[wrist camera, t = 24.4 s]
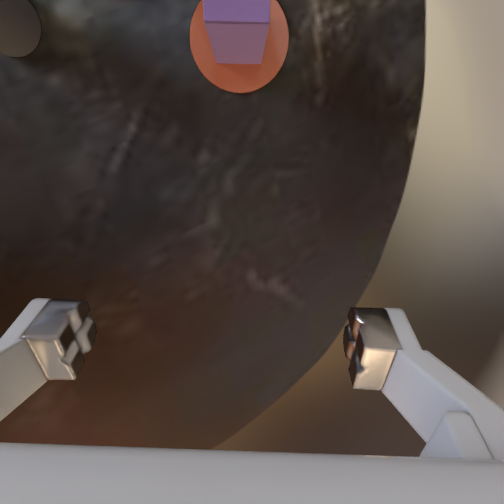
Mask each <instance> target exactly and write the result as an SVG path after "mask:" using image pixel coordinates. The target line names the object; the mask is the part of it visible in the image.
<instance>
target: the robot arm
mask: <svg viewBox="0 0 504 504" xmlns="http://www.w3.org/2000/svg"><path fill="white" fill-rule="evenodd" d="M89 311H90V307H89V304H88V302H87V301H84V300H70V299H44V298H36V299H34V300H32V301H31V302H30V303H29V304H28V305H27V307H26V308H25V309H24V310H23V312H22V313H21V314H20V315H19V316H18V318H17V319H16V320H15V321H14V323H13V324H12V325H11V326H10V328H9V329H8V330H7V331H6V333H5V334H4V335H3V336H2V337H1V338H0V421H1V420H2V419H4V418H5V417H6V416H7V415H8V414H9V413H11V412H12V411H13V410H14V409H15V408H16V407H18V406H19V405H20V404H21V403H22V402H23V401H25V400H26V399H27V398H28V397H29V396H30V395H32V394H33V393H34V392H35V391H36V390H37V389H39V388H40V387H41V386H42V385H43V384H44V383H46V382H47V380H75V379H76V377H77V375H78V374H79V372H80V370H81V368H82V366H83V364H84V362H85V360H84V357H83V355H84V354H85V353H86V352H88V351H89V350H91V348H92V346H93V344H94V342H95V338H96V333H97V331H96V324H95V321H94V319H93V318H92V317H90V316H89V315H88V313H89ZM347 317H348V320H349V324H348V325H347V326H345V329H344V335H343V336H344V337H343V344H344V352H345V356H346V358H347V359H348V360H349V361H351V362H350V366H349V373H350V377H351V381H352V385H353V388H355V389H370V390H382V392H383V393H384V394H385V396H386V397H387V398H388V399H389V400H390V401H391V403H392V404H393V405H394V406H395V407H396V408H397V410H398V411H399V412H400V413H401V414H402V415H403V417H404V418H405V419H406V420H407V421H408V422H409V423H410V424H411V426H412V427H413V428H414V429H415V430H416V431H417V433H418V434H419V435H420V436H421V437H422V438H423V440H424V441H425V442H426V443H427V444H426V446H425V447H424V449H423V451H422V452H421V454H420V456H419V457H403V456H374V455H344V454H315V453H286V452H258V451H229V450H202V449H174V448H146V447H117V446H88V445H59V444H31V443H2V442H0V504H504V409H502V408H501V407H500V406H499V405H497V404H496V403H495V402H494V401H492V400H491V399H490V398H488V397H487V396H486V395H484V394H483V393H482V392H481V391H479V390H478V389H477V388H475V387H474V386H473V385H471V384H470V383H469V382H468V381H466V380H465V379H464V378H462V377H461V376H460V375H458V374H457V373H456V372H455V371H453V370H452V369H451V368H449V367H448V366H447V365H445V364H444V363H443V362H442V361H440V360H439V359H438V358H436V357H435V356H434V355H432V354H431V353H430V352H429V351H423V350H422V348H421V347H420V344H419V342H418V340H417V338H416V336H415V334H414V332H413V330H412V328H411V325H410V323H409V321H408V319H407V317H406V315H405V313H404V311H403V310H402V309H401V308H357V307H351V308H350V310H349V312H348V316H347Z"/></svg>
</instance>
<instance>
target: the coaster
mask: <svg viewBox="0 0 504 504" xmlns="http://www.w3.org/2000/svg"><path fill="white" fill-rule="evenodd" d="M288 44H289V31H288V25H287V21H286V17H285V15H284V12H283V10H282V8H281V6H280V5H279V3H278V2H277V0H270V24H269V28H268V33H267V38H266V43H265V48H264V53H263V57H262V62H261V64H225V63H216V60H215V57H214V53H213V50H212V47H211V43H210V40H209V37H208V33H207V30H206V27H205V23H204V15H203V0H201V1H200V3H199V4H198V6H197V8H196V10H195V12H194V15H193V18H192V21H191V27H190V46H191V50H192V54H193V57H194V60H195V62H196V64H197V66H198V68H199V69H200V71H201V72H202V74H203V75H204V76H205V77H206V78H207V79H208V80H209V81H210V82H211V83H212V84H214V85H215V86H217V87H218V88H220V89H222V90H225V91H228V92H232V93H248V92H252V91H255V90H258V89H260V88H262V87H264V86H265V85H266V84H268V83H269V82H270V81H271V80H272V79H273V78H274V77H275V76H276V75H277V73H278V72H279V70H280V69H281V67H282V65H283V63H284V61H285V58H286V55H287V50H288Z"/></svg>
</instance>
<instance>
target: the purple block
mask: <svg viewBox="0 0 504 504" xmlns="http://www.w3.org/2000/svg"><path fill="white" fill-rule="evenodd" d="M203 15H204V23H205V27H206V30H207V33H208V37H209V40H210V43H211V47H212V50H213V53H214V57H215V60H216V63H225V64H261V62H262V57H263V53H264V48H265V43H266V38H267V33H268V28H269V24H270V0H203Z"/></svg>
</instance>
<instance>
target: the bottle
mask: <svg viewBox="0 0 504 504" xmlns="http://www.w3.org/2000/svg"><path fill="white" fill-rule="evenodd" d="M40 37H41V25H40V20H39V17H38V14H37V12H36V11H35V9H34V7H33V6H32V5H31V4H30V2H29V1H28V0H0V53H2V54H4V55H8V56H11V57H22V56H26V55H28V54H30V53H31V52H32V51H33V50H34V49H35V48H36V47H37V45H38V43H39V41H40Z"/></svg>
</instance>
